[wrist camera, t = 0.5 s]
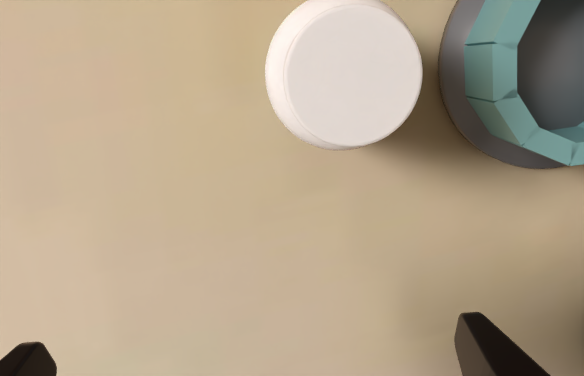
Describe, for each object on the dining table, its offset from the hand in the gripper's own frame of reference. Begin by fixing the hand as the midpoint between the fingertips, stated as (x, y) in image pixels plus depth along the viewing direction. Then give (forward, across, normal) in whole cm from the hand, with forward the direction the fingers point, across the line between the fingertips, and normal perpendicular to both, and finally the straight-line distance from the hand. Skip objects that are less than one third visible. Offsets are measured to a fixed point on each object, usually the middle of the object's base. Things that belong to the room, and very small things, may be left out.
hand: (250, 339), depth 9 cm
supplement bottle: (+15, -3, -1) cm, 16 cm away
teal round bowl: (+15, -14, 0) cm, 21 cm away
